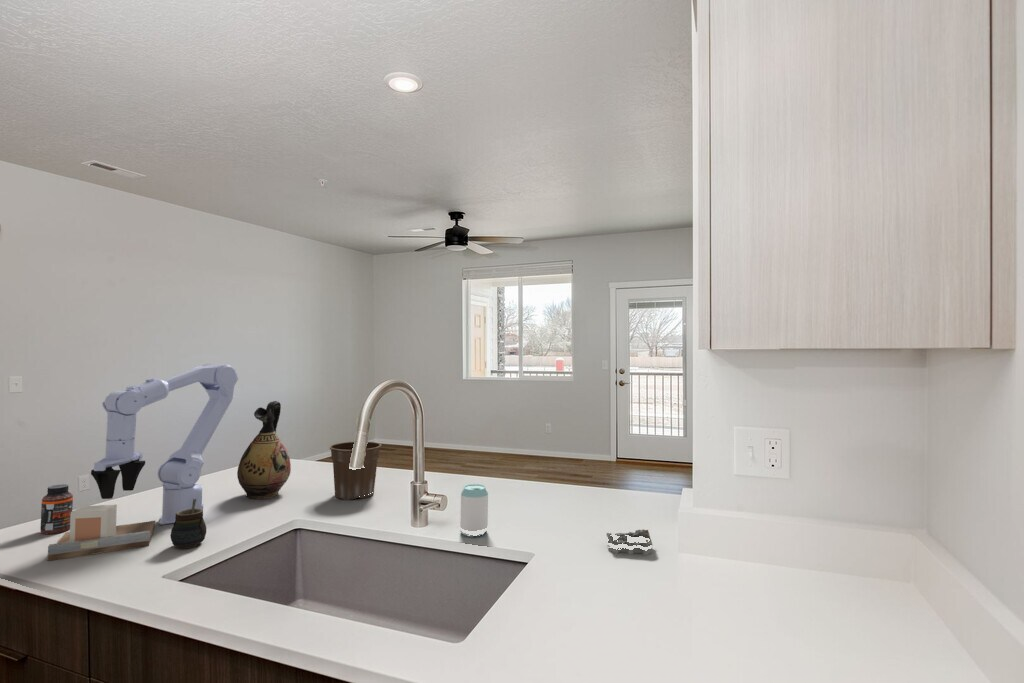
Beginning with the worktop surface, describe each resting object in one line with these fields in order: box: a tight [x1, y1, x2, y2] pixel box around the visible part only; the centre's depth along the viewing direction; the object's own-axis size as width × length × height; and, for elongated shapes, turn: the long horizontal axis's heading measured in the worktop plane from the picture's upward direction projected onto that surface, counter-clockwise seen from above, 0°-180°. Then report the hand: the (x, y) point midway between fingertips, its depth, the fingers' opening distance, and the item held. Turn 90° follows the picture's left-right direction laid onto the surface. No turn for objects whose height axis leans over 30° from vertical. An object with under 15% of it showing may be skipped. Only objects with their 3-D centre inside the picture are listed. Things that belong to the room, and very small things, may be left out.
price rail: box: [47, 531, 150, 556], centre depth 115 cm, size 18×1×2 cm, turn 121°
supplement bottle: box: [39, 483, 74, 535], centre depth 128 cm, size 6×6×11 cm
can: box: [459, 483, 489, 538], centre depth 131 cm, size 7×7×12 cm
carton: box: [69, 504, 118, 542], centre depth 117 cm, size 5×7×8 cm, turn 103°
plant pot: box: [329, 441, 382, 501], centre depth 164 cm, size 16×16×16 cm
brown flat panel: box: [47, 520, 156, 562], centre depth 122 cm, size 18×16×1 cm
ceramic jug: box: [236, 400, 292, 500], centre depth 163 cm, size 17×15×30 cm
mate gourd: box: [169, 499, 207, 550], centre depth 120 cm, size 7×8×10 cm
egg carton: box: [606, 528, 654, 556], centre depth 122 cm, size 11×8×4 cm
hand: (117, 494), depth 125 cm, fingers open, 7 cm apart
